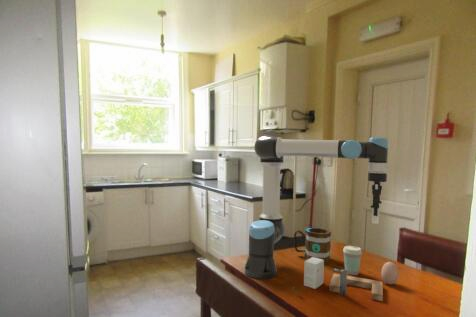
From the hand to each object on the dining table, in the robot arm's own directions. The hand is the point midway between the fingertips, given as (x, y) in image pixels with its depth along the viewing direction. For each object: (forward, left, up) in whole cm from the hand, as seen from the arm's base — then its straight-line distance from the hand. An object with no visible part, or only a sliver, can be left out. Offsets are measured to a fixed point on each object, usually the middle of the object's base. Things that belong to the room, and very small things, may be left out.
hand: (375, 220), depth 139 cm
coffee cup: (-10, +7, -28) cm, 30 cm away
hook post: (-13, -20, -28) cm, 36 cm away
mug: (-31, +20, -28) cm, 46 cm away
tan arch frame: (-7, -12, -28) cm, 31 cm away
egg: (+6, +1, -28) cm, 29 cm away
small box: (-24, -15, -28) cm, 39 cm away
